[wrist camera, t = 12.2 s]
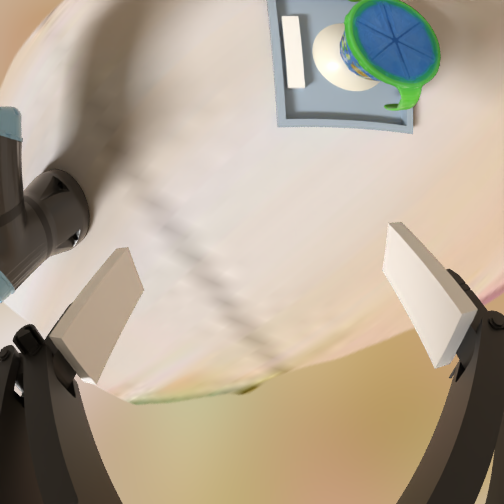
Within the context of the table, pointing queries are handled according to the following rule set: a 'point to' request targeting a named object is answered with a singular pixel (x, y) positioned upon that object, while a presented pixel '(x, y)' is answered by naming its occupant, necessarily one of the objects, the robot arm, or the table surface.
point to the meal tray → (324, 72)
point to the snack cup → (390, 47)
